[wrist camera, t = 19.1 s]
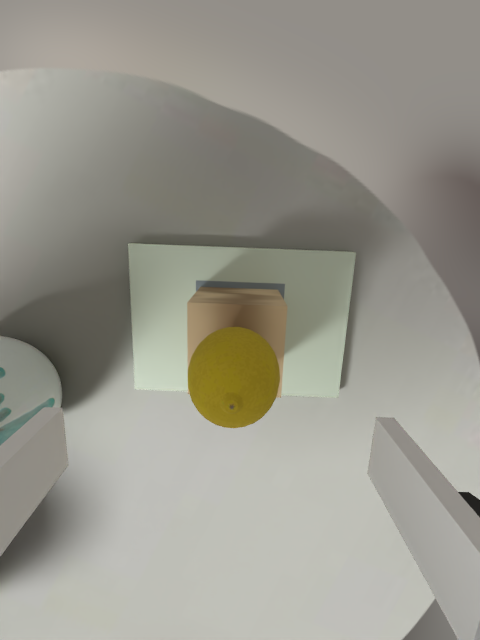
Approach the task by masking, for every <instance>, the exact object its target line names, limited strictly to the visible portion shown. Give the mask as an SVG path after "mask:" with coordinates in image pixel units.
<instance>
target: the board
mask: <svg viewBox="0 0 480 640" xmlns="http://www.w3.org/2000/svg"><path fill="white" fill-rule="evenodd" d="M128 258H129V279H130V300H131V321H132V342H133V363H134V383H135V389H139V390H163V391H187V392H188V348H187V302H188V301H189V300H190V299H191V297H192V296H193V295H194V294H195V293H196V292H197V290H198V289H199V288H200V287H219V288H247V289H274V290H279V292H280V294H281V296H282V297H283V299H284V301H285V303H286V304H287V306H288V307H287V321H286V335H285V349H284V363H283V376H282V390H281V395H283V396H308V397H332V398H338V395H339V387H340V379H341V371H342V363H343V355H344V347H345V338H346V330H347V322H348V314H349V306H350V298H351V290H352V282H353V274H354V266H355V258H356V252H349V251H323V250H297V249H271V248H245V247H219V246H193V245H167V244H141V243H129V244H128Z"/></svg>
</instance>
